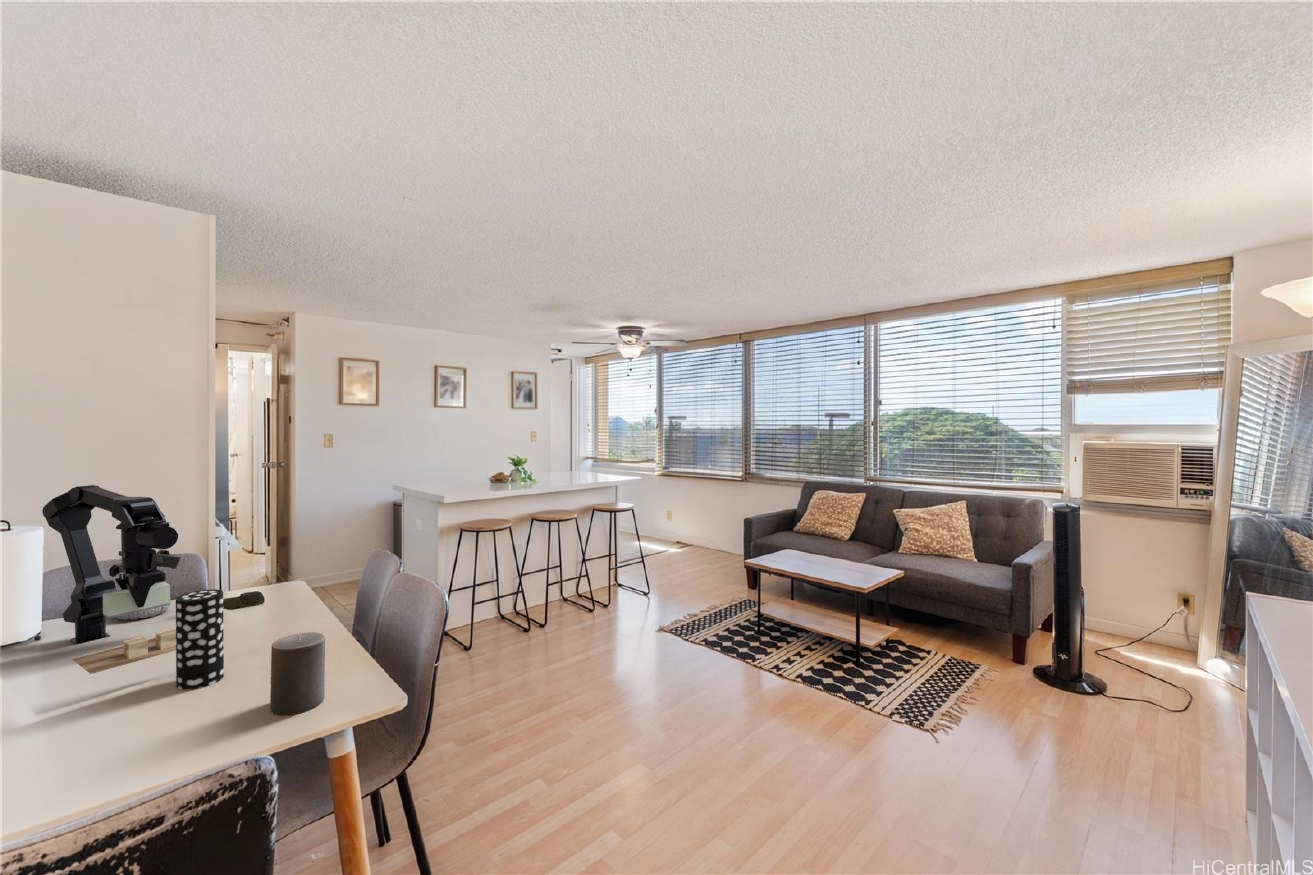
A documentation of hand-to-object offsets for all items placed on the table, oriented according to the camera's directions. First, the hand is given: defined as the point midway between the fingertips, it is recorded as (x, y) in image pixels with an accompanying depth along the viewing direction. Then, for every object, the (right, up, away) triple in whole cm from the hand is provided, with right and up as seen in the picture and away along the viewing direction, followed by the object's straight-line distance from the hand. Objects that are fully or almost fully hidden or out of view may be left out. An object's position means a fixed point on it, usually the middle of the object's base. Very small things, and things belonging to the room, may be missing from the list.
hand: (137, 605), depth 141 cm
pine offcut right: (+10, -10, -2) cm, 14 cm away
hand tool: (0, -11, +29) cm, 31 cm away
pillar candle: (+59, -13, -26) cm, 66 cm away
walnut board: (+6, -11, -4) cm, 13 cm away
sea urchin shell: (-21, -10, +23) cm, 33 cm away
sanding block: (0, -1, 0) cm, 1 cm away
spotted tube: (+31, -12, -17) cm, 37 cm away
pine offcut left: (+7, -10, -7) cm, 14 cm away
